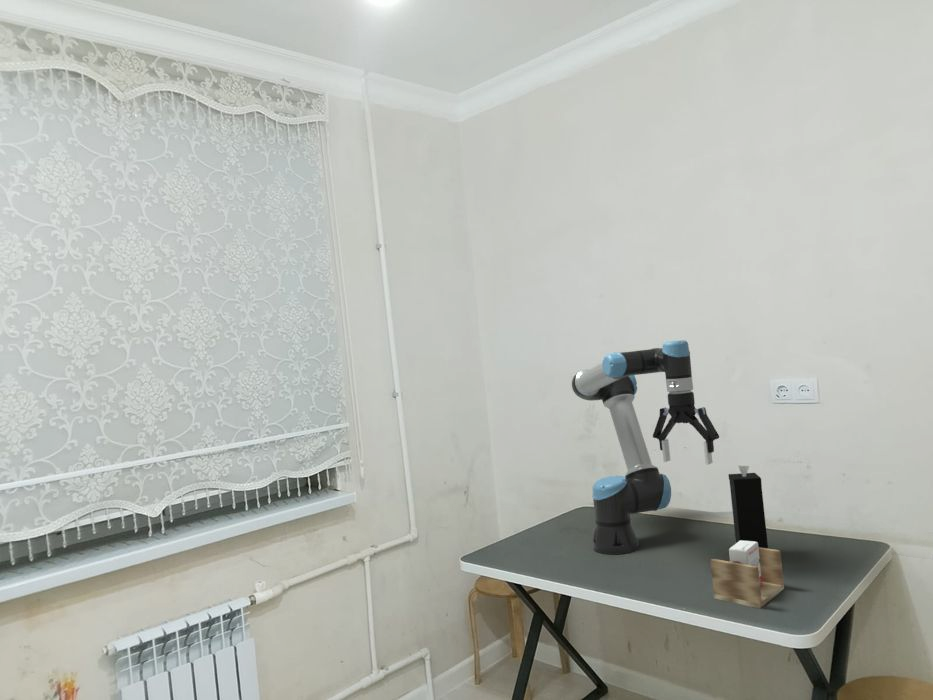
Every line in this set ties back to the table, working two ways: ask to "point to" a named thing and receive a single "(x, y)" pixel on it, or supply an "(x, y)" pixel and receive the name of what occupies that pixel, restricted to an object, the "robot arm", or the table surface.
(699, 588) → the table surface
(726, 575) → the holder
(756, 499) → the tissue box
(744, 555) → the ink box
